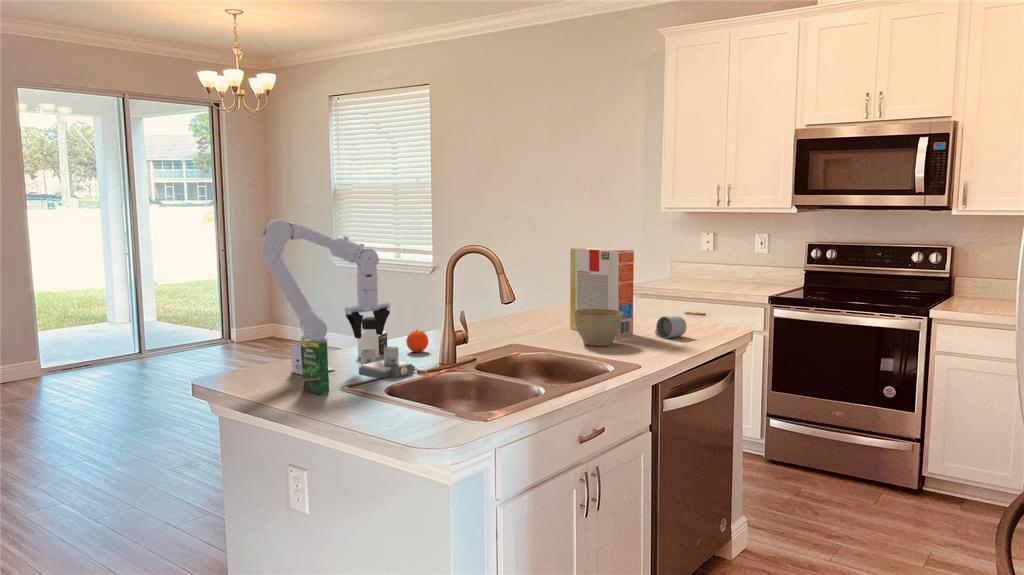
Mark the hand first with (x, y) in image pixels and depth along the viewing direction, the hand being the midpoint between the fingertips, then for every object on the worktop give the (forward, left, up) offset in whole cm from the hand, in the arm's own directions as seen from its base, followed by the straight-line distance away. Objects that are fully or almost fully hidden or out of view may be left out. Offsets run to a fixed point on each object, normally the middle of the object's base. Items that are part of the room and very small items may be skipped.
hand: (368, 336), depth 215 cm
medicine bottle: (+10, +12, -9) cm, 18 cm away
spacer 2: (-1, -12, -7) cm, 14 cm away
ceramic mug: (+97, -42, -9) cm, 106 cm away
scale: (-1, -11, -9) cm, 14 cm away
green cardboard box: (-27, -13, -9) cm, 31 cm away
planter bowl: (+70, -31, -9) cm, 77 cm away
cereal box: (+90, -18, -9) cm, 92 cm away
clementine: (+23, +5, -9) cm, 25 cm away
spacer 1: (0, +1, -9) cm, 9 cm away
